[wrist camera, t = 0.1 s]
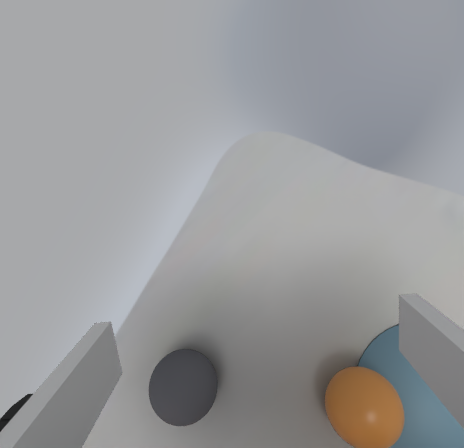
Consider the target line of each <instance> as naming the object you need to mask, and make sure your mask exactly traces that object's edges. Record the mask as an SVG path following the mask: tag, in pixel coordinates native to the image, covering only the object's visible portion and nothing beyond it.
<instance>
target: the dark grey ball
mask: <svg viewBox="0 0 464 448" xmlns="http://www.w3.org/2000/svg"><path fill="white" fill-rule="evenodd" d="M216 393H217V376H216V372H215V370H214V367H213V365H212V364H211V362H210V361H209V360H208V359H207V358H206V357H205V356H204V355H203V354H201V353H199V352H197V351H194V350H189V349H182V350H177V351H174V352H172V353H170V354H168V355H167V356H165V357H164V358H163V359H162V360H161V361H160V362H159V363H158V365H157V366H156V367H155V369H154V371H153V373H152V376H151V379H150V384H149V397H150V402H151V405H152V407H153V409H154V411H155V413H156V414H157V415H158V416H159V417H160V418H161V419H162V420H163V421H165V422H166V423H168V424H171V425H175V426H186V425H190V424H193V423H195V422H197V421H198V420H200V419H201V418H203V417H204V416H205V415H206V414H207V412H208V411H209V410H210V408H211V407H212V405H213V403H214V400H215V397H216Z"/></svg>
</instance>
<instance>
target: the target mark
mask: <svg viewBox="0 0 464 448" xmlns="http://www.w3.org/2000/svg"><path fill="white" fill-rule="evenodd" d="M358 367H365V368H369V369H371V370H374V371H376V372H377V373H379V374H381V375H382V376H383V377H385V378H386V379H387V380H388V381H389V382H390V383H391V384H392V385H393V387H394V388H395V390H396V391H397V393H398V395H399V397H400V399H401V402H402V405H403V409H404V417H405V418H404V427H403V431H402V433H401V435H400V437H399V439H398V440H397V441H396V442H395V444H393V445H392V446H391V447H389V448H464V429H463V428H462V427H461V425H460V424H459V423H458V422H457V420H456V419H455V418H454V417H453V416H452V414H451V413H450V412H449V411H448V409H447V408H446V407H445V406H444V405H443V403H442V402H441V401H440V400H439V398H438V397H437V396H436V395H435V394H434V392H433V391H432V390H431V389H430V387H429V386H428V385H427V384H426V383H425V381H424V380H423V379H422V378H421V376H420V375H419V374H418V373H417V372H416V370H415V369H414V368H413V367H412V365H411V364H410V363H409V362H408V360H407V359H406V358H405V357H404V356H403V354H402V353H401V352H400V351H399V325H397V326H394V327H392V328H390V329H388V330H386V331H385V332H383V333H382V334H380V335H379V336H378V337H377V338H376V339H375V340H374V341H372V342H371V344H370V345H369V346H368V348H367V349H366V350H365V352H364V354H363V355H362V357H361V359H360V361H359V364H358Z"/></svg>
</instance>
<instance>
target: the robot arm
mask: <svg viewBox="0 0 464 448" xmlns="http://www.w3.org/2000/svg"><path fill="white" fill-rule="evenodd" d="M399 351H400V352H401V353H402V354H403V356H404V357H405V358H406V359H407V360H408V362H409V363H410V364H411V365H412V367H413V368H414V369H415V370H416V372H417V373H418V374H419V375H420V376H421V378H422V379H423V380H424V381H425V383H426V384H427V385H428V386H429V387H430V389H431V390H432V391H433V392H434V394H435V395H436V396H437V397H438V398H439V400H440V401H441V402H442V403H443V405H444V406H445V407H446V408H447V409H448V411H449V412H450V413H451V414H452V416H453V417H454V418H455V419H456V420H457V422H458V423H459V424H460V425H461V427H462V428H463V429H464V330H463V329H462V328H460V327H459V326H458V325H457V324H455V323H454V322H453V321H451V320H450V319H449V318H448V317H446V316H445V315H444V314H443V313H441V312H440V311H439V310H437V309H436V308H435V307H434V306H432V305H431V304H430V303H428V302H427V301H426V300H425V299H423V298H422V297H421V296H419V295H418V294H406V295H399ZM121 375H122V369H121V364H120V360H119V355H118V351H117V346H116V342H115V337H114V333H113V329H112V324H111V322H102V323H95V324H94V325H93V326H92V327H91V328H90V330H89V331H88V332H87V333H86V334H85V335H84V336H83V338H82V339H81V340H80V341H79V342H78V343H77V344H76V346H75V347H74V348H73V349H72V350H71V351H70V352H69V354H68V355H67V356H66V357H65V358H64V360H63V361H62V362H61V363H60V364H59V365H58V366H57V367H56V369H55V370H54V371H53V372H52V373H51V374H50V375H49V377H48V378H47V379H46V380H45V381H44V382H43V384H42V385H41V386H40V387H39V388H38V389H37V390H36V392H35V393H34V394H27V395H26V396H25V397H24V398H22V399H21V400H19V401H18V402H17V403H16V404H14V405H13V406H12V407H11V408H10V409H9V410H8V411H7V412H6V413H5V415H3V417H2V418H1V419H0V448H82V446H83V444H84V442H85V441H86V439H87V437H88V435H89V433H90V431H91V430H92V428H93V426H94V424H95V422H96V420H97V419H98V417H99V415H100V413H101V411H102V409H103V408H104V406H105V404H106V402H107V400H108V398H109V397H110V395H111V393H112V391H113V389H114V387H115V386H116V384H117V382H118V380H119V378H120V376H121Z"/></svg>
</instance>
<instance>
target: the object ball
mask: <svg viewBox="0 0 464 448" xmlns="http://www.w3.org/2000/svg"><path fill="white" fill-rule="evenodd" d="M325 407H326V412H327V415H328V418H329V421H330V423H331V425H332V426H333V428H334V429H335V431H336V432H337V433H338V435H339V436H340V437H341V438H342V439H343V440H345V441H346V442H347V443H348V444H350V445H351V446H353V447H355V448H389V447H391V446H392V445H393V444H395V442H396V441H397V440H398V439H399V437H400V435H401V433H402V431H403V427H404V418H405V417H404V409H403V405H402V402H401V399H400V397H399V395H398V393H397V391H396V390H395V388H394V387H393V385H392V384H391V383H390V382H389V381H388V380H387V379H386V378H385V377H383V376H382V375H381V374H379V373H377V372H376V371H374V370H371V369H369V368H365V367H348V368H345V369H343V370H341V371H339V372H338V373H336V374H335V375H334V376H333V378H332V379H331V380H330V382H329V384H328V386H327V389H326V394H325Z"/></svg>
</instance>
